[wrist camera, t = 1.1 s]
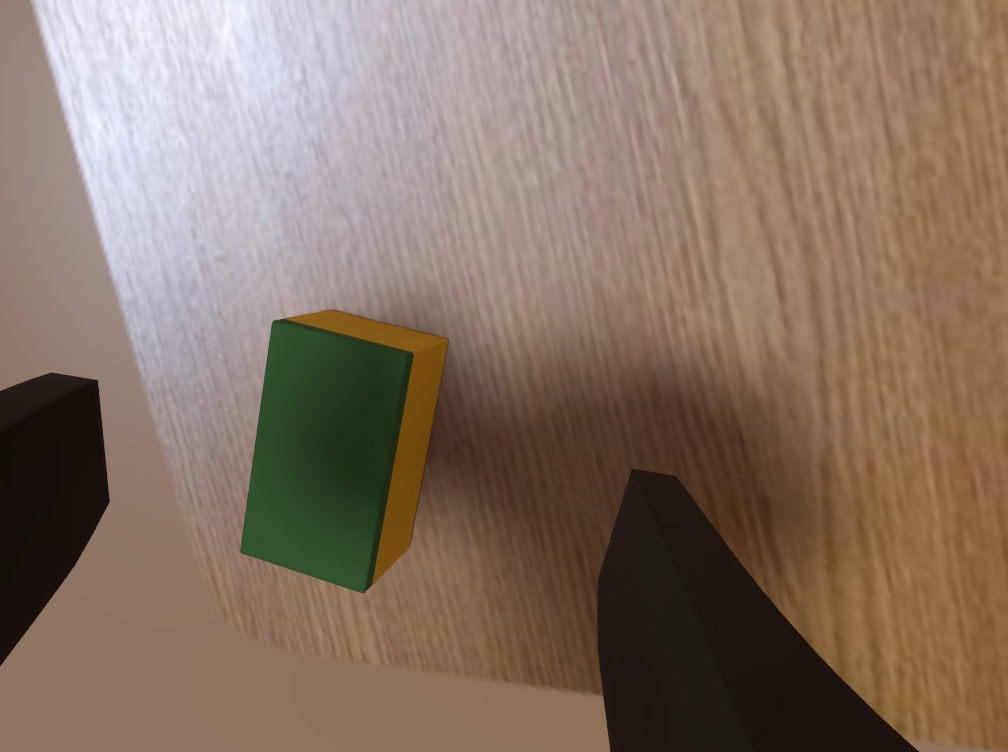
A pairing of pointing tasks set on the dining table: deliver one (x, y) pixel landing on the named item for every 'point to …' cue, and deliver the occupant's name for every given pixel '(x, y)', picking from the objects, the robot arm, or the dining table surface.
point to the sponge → (341, 445)
